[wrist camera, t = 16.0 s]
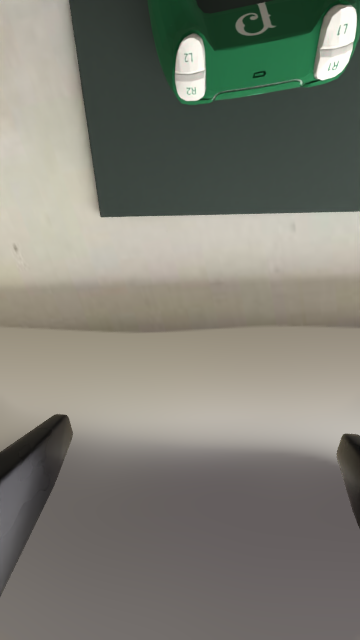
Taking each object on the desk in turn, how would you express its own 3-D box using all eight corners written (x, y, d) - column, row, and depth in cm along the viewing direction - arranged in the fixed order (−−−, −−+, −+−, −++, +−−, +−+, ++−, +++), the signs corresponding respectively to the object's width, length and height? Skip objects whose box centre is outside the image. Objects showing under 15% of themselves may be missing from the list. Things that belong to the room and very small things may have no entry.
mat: (544, -306, 9) (558, -327, 8) (392, 210, 16) (396, 210, 15) (43, -199, 11) (37, -212, 10) (102, 216, 18) (100, 217, 17)
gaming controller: (162, 53, 15) (158, 128, 13) (143, -59, 11) (134, 21, 9) (337, 20, 14) (363, 98, 12) (378, -119, 10) (426, -41, 8)
